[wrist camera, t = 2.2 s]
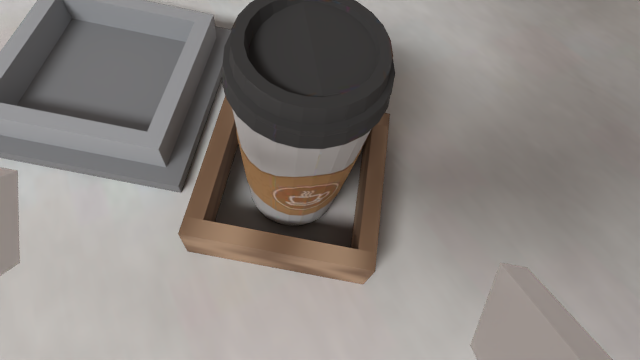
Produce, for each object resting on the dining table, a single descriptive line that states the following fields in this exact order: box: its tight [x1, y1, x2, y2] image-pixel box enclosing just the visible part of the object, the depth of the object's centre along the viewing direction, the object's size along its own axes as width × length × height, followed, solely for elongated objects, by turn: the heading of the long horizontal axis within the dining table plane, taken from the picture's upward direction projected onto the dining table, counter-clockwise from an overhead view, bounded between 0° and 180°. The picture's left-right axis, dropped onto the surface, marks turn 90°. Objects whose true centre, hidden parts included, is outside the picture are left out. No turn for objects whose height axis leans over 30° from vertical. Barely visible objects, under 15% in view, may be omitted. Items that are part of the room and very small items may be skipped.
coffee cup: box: [222, 0, 395, 225], centre depth 25 cm, size 8×8×15 cm
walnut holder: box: [178, 96, 390, 284], centre depth 30 cm, size 12×12×4 cm
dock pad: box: [0, 0, 231, 192], centre depth 32 cm, size 16×16×4 cm
